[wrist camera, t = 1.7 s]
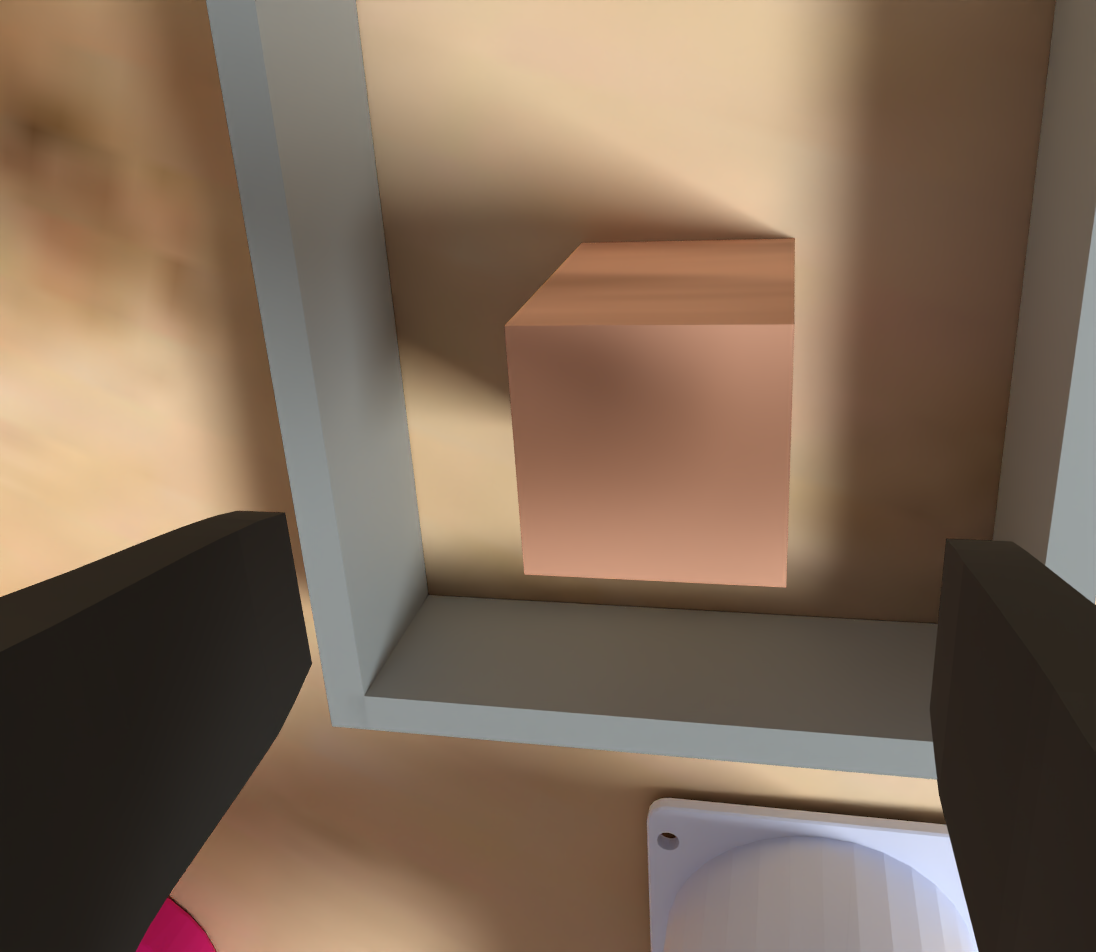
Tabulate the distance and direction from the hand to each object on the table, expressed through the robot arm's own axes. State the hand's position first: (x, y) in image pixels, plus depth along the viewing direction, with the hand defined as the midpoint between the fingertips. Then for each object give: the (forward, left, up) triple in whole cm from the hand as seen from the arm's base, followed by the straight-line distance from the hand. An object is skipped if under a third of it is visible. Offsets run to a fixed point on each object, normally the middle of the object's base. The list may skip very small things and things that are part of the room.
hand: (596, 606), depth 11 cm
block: (0, 0, -10) cm, 10 cm away
